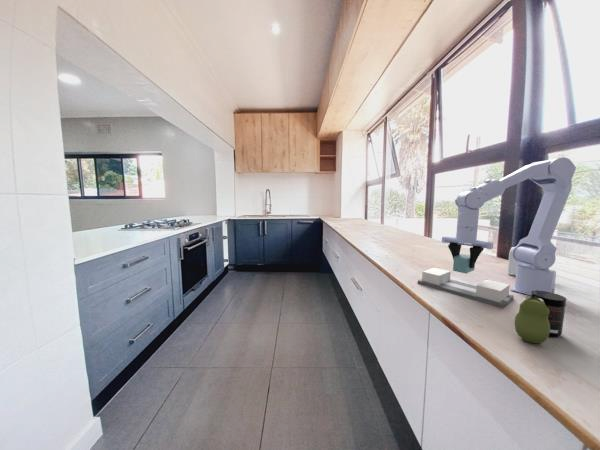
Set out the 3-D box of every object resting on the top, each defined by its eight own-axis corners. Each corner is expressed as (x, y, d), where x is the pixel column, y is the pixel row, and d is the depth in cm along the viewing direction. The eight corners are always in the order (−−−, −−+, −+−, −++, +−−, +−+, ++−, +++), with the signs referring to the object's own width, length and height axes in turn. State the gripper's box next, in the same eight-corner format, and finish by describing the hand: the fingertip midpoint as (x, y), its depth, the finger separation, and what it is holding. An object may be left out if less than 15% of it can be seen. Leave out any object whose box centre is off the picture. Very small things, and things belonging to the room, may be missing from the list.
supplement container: (548, 326, 59) (552, 291, 58) (569, 339, 53) (574, 301, 52) (520, 323, 60) (524, 289, 59) (538, 336, 54) (543, 299, 53)
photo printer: (506, 274, 99) (509, 245, 97) (508, 272, 101) (511, 244, 100) (540, 281, 91) (544, 249, 89) (542, 278, 94) (545, 248, 92)
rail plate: (513, 298, 75) (514, 284, 74) (502, 307, 69) (504, 293, 68) (431, 277, 95) (432, 266, 95) (417, 282, 89) (418, 271, 88)
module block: (474, 270, 82) (475, 256, 82) (466, 273, 78) (467, 258, 78) (461, 267, 85) (462, 253, 85) (452, 270, 81) (454, 256, 81)
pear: (547, 340, 53) (552, 297, 52) (549, 352, 49) (555, 305, 48) (513, 331, 57) (517, 290, 55) (512, 340, 53) (517, 297, 52)
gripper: (438, 225, 83) (436, 263, 85) (489, 230, 72) (485, 273, 73) (447, 224, 88) (445, 260, 89) (496, 228, 76) (492, 269, 77)
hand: (463, 266), depth 81 cm, fingers closed on module block, 4 cm apart
